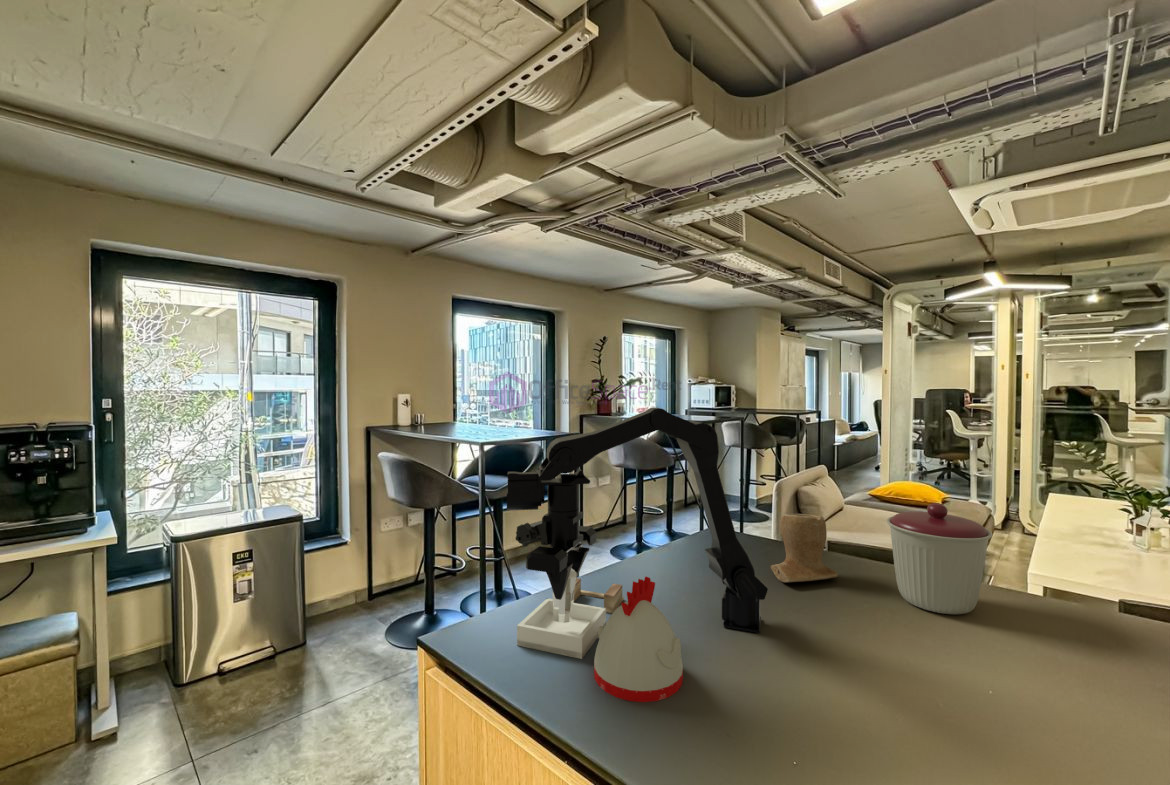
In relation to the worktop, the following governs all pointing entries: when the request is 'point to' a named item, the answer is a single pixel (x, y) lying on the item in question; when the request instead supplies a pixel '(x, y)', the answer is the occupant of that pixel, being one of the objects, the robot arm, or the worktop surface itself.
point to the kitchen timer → (638, 650)
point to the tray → (561, 630)
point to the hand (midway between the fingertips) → (563, 593)
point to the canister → (938, 559)
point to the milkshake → (565, 601)
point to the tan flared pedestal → (803, 549)
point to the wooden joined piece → (603, 595)
